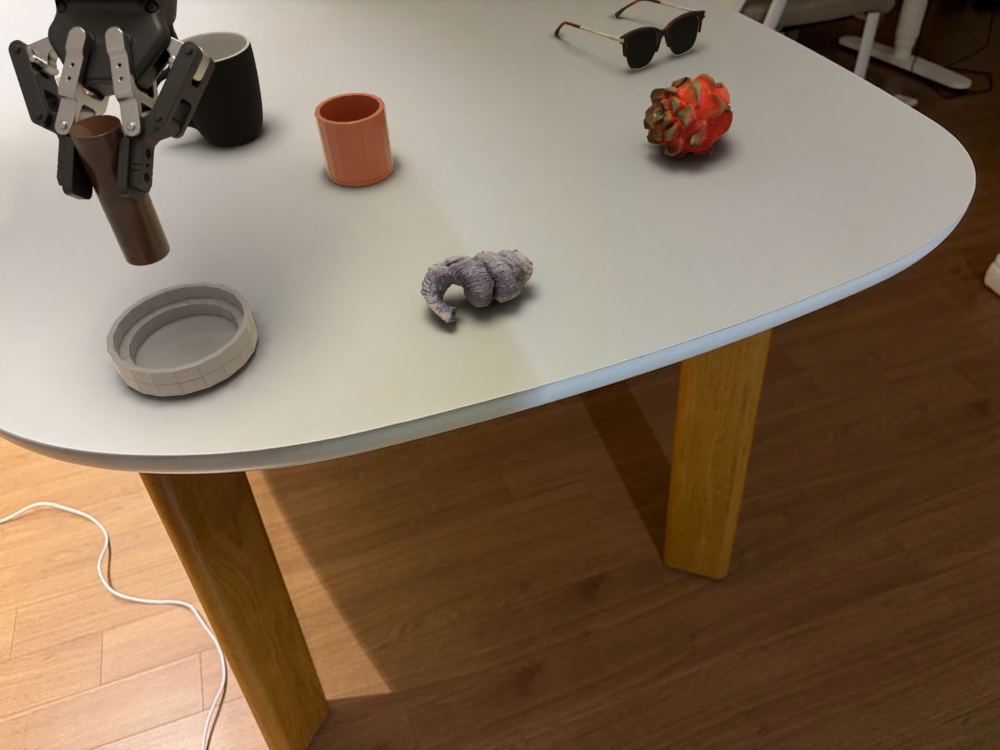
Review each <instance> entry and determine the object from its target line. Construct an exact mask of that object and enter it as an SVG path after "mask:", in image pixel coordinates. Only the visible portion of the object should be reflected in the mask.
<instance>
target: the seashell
mask: <svg viewBox="0 0 1000 750" xmlns="http://www.w3.org/2000/svg"><path fill="white" fill-rule="evenodd" d="M533 265H534V263H533V261H530V259H529V257H528V256H526V255H525V254H524V253H522V252H520V251H519V250H518V249H514V250H510V249H502V250H499V251H498V252H494V251H488V250H487V251H486V250H481V251H479V252H476V254H475V255H473V256H472V257H471V256H468V255H454V256H450V257H446V258H444V259H443V260H441V261H440V262H437V263H434V264H433V265H430V266H429V267H428V269H427V272H425V275H424V277H423V280H422V281H421V290H420V293H421V295H422V298H423V299H424V300H425V302H426V304H427V305H428V307H429V308H430V310H431V311H433V313H434V314H435V315H437V317H439V318H440V319H441V320H443V321H444V322H445V325H447V324H450V323H453V322H456V321H457V319H456V315H457V313H458V309H457V306H452V305H450V304H448V303H447V302H446V301H445V300H444V296H445V294H446V293H447V291H448V289H449V288H451V286H452V285H455V286H458V287H461V288H462V289H463V296H464V297H465V298H466V301H468V303H469V304H470V305H471V306H473V307H474V308H485V307H488V306H489V305H490V304H491V303H492V302H493V301H494V300H496V301H497V302H499V303H500V304H504V303H505V302H508V301H511V300H513V299H514V298H516V297H518V296H519V295H520V294H521V292H522V288H523V287H525V285H526V283H527V282H528V281H530V279H531V278H532V274H533V273H534V267H533Z"/></svg>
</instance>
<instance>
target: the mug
mask: <svg viewBox="0 0 1000 750" xmlns="http://www.w3.org/2000/svg"><path fill="white" fill-rule="evenodd" d="M180 41H182V42H184V43H185V42H187V41H191V42H194V43H195V44H196V45H197V46H199V47H200V48H201V49H202V50H204V51H205V52H206V53H207V54H208V55H209V56H210V57H211V58H212V59H213V60H214V62H215V68H214V70H213V72H212V75H211V77H210V79H209V81H208V83H207V85H206V88H205V90H204V92H203V94H202V96H201V99H200V101H199V103H198V105H197V107H196V109H195V112H194V114H193V116H192V118H191V120H190V122H189V125H188V127H187V128H192V129H195V130H196V131H198V133H199V134H200V135H201V136H202V137H203V139H204V140H206V142H207V143H209V144H211V145H213V146H216V147H235V146H240V145H243V144H246V143H249V142H251V141H252V140H254V139H256V138H257V137H258V136H259V135H260V133H261V132H262V128H263V125H264V124H263V123H264V109H263V100H262V91H261V84H260V79H259V74H258V68H257V63H256V59H255V54H254V50H253V46H252V42H251V40H250V38H249V37H248V36H247V35H245V34H243V33H241V32H237V31H229V30H220V31H218V30H217V31H208V32H202V33H197V34H193V35H190V36H187V37H184V38H181V39H180ZM169 71H170V67H169V63H168V64H167V66H166V67H165V68H164V70H163V71H162V72H161V74H160V75H159V76H158V78H157V79H156V82H157V89H158V87H159V86H160V84H161V83H162V82H164V81H165V80H166V78H167V76H168V74H169Z"/></svg>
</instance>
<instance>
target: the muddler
mask: <svg viewBox="0 0 1000 750" xmlns="http://www.w3.org/2000/svg"><path fill="white" fill-rule="evenodd" d="M69 134H70V137H71V139H72V141H73V143H74V145H75V148H76V150H77V152H78V154H79V157H80V159H81V161H82V163H83V166H84V168H85V170H86V172H87V175H88V177H89V179H90V181H91V184H92V186H93V190H94V192H95V195H96V197H97V199H98V201H99V204H100V206H101V209H102V210H103V212H104V215H105V217H106V220H107V222H108V224H109V226H110V229H111V231H112V233H113V235H114V238H115V239H116V241H117V245H118V246H119V248H120V251H121V253H122V256H123V258H124V260H125V262H126V263H127V264H129V265H131V266H134V267H135V266H136V267H145V266H150V265H154V264H156V263H159V262H160V261H162V260H164V259H165V258H166V257H167V256H168V255H169V253H170V251H171V246H170V243H169V241H168V238H167V236H166V233H165V231H164V228H163V225H162V223H161V220H160V218H159V215H158V213H157V210H156V208H155V205H154V203H153V200H152V198H151V195H150V192H149V193H145V198H144V200H143V201H130V200H128V199H125V198H123V197H120V196H119V195H118V193H117V170H118V154H119V139H120V138H126V134H125V133H124V131H123V127H122V120H121V119H120V118H119V117H117V116H116V115H112V114H111V115H110V114H103V115H98V116H92V117H88V118H85V119H83V120H80V121H78V122H76V123H75V124H73V125H72V126H71V127H70V129H69Z"/></svg>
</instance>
